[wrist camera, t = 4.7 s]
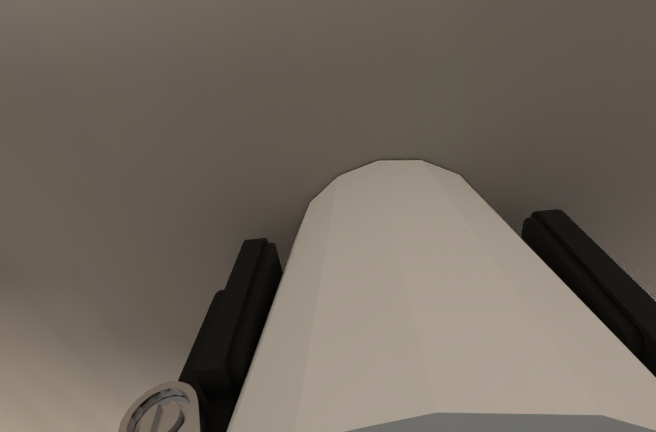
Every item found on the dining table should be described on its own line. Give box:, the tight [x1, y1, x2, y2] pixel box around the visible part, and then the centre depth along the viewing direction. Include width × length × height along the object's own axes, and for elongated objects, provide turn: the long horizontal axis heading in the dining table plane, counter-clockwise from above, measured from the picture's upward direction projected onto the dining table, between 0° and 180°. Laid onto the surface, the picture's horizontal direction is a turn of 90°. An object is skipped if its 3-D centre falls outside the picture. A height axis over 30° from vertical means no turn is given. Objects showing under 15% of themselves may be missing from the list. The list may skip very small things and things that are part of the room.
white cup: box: [227, 160, 656, 432], centre depth 8 cm, size 7×7×7 cm
